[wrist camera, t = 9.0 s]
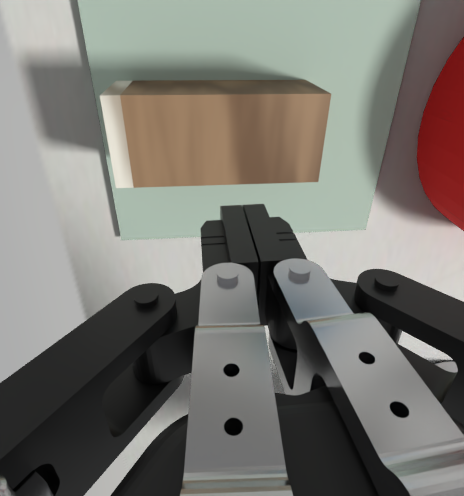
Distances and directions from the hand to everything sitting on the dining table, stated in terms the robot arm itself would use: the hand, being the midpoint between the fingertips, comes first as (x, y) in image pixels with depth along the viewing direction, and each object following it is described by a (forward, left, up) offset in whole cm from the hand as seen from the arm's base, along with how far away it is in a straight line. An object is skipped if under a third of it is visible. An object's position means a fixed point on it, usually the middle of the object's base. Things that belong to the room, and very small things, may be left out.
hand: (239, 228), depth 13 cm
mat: (-3, 0, -15) cm, 15 cm away
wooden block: (-6, 0, -12) cm, 13 cm away
